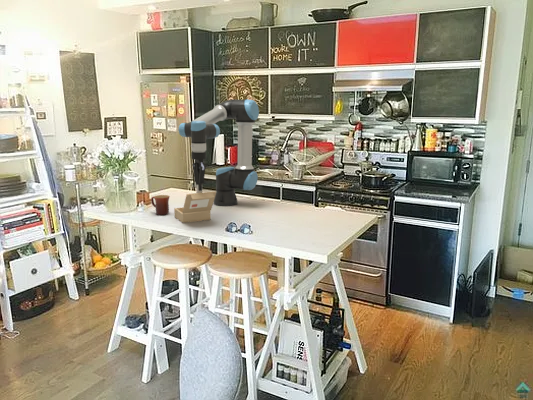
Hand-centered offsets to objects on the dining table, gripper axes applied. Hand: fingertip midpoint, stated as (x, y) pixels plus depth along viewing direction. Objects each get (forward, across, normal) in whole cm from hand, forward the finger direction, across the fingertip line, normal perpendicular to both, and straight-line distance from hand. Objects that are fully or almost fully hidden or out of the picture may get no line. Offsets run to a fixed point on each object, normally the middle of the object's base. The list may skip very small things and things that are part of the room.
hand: (199, 196), depth 235 cm
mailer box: (+15, -12, 0) cm, 19 cm away
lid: (+3, -1, 0) cm, 4 cm away
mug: (+15, -30, -13) cm, 36 cm away
